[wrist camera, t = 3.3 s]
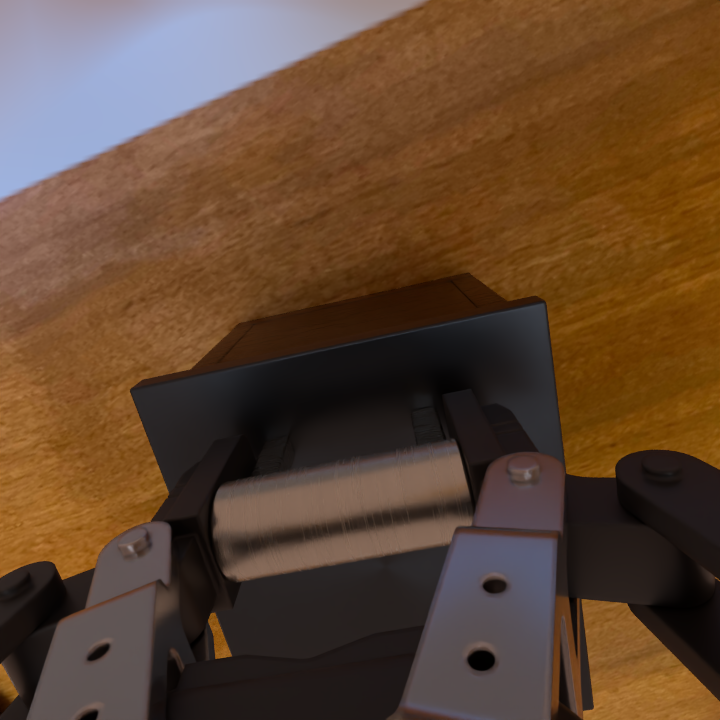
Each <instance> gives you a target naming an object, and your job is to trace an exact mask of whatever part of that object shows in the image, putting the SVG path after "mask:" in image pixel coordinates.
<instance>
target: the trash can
mask: <svg viewBox="0 0 720 720" xmlns="http://www.w3.org/2000/svg"><path fill="white" fill-rule="evenodd" d="M503 302H508V301H506V300H505V299H504V298H502V297H501V296H500V295H498V294H497V293H496V292H494V291H493V290H491V289H490V288H489V287H487V286H486V285H485V284H483V283H482V282H481V281H479V280H478V279H476V278H475V277H474V276H473V275H471V274H470V273H465V274H461V275H456V276H452V277H447V278H443V279H438V280H434V281H429V282H424V283H420V284H415V285H411V286H406V287H402V288H397V289H393V290H388V291H384V292H379V293H375V294H370V295H366V296H361V297H356V298H352V299H347V300H343V301H338V302H334V303H329V304H325V305H320V306H316V307H311V308H307V309H302V310H297V311H293V312H288V313H284V314H279V315H275V316H270V317H266V318H261V319H257V320H252V321H248V322H243V323H239V324H238V325H237V326H236V327H235V328H234V329H233V330H232V331H231V332H230V333H229V334H228V335H227V336H225V337H224V338H223V339H222V340H221V341H220V342H219V343H218V344H217V345H216V346H215V347H214V348H213V349H212V350H211V351H210V352H208V353H207V354H206V355H205V356H204V357H203V358H202V359H201V360H200V361H199V362H198V363H197V364H196V365H195V366H194V367H193V368H192V369H195V368H200V367H205V366H209V365H214V364H219V363H223V362H228V361H233V360H237V359H242V358H247V357H251V356H256V355H261V354H265V353H270V352H275V351H279V350H284V349H289V348H293V347H298V346H303V345H307V344H312V343H317V342H321V341H326V340H331V339H335V338H340V337H345V336H349V335H354V334H359V333H363V332H368V331H373V330H377V329H382V328H387V327H391V326H396V325H401V324H405V323H410V322H415V321H419V320H424V319H429V318H433V317H438V316H443V315H447V314H452V313H457V312H461V311H466V310H471V309H475V308H480V307H485V306H489V305H494V304H499V303H503ZM190 370H191V369H190Z"/></svg>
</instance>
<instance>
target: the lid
mask: <svg viewBox="0 0 720 720" xmlns="http://www.w3.org/2000/svg"><path fill="white" fill-rule="evenodd" d="M467 389H471V390H472V392H473V393H474V395H475V397H476V399H477V401H478V403H479V405H480V406H485V405H490V404H495V403H497V404H499V405H501V406H504V407H506V408H508V409H510V410H511V411H512V412H513V414H514V415H515V417H516V418H517V420H518V422H519V423H520V424H521V426H522V427H523V430H525V432H526V433H527V435H528V436H529V438H530V439H531V441H532V442H533V444H534V445H535V447H536V448H537V449H538V451H539V452H540V453H543V454H547V455H550V456H552V457H554V458H556V459H557V460H559V461H560V462H561V463H562V464H563V466H564V470H565V474H566V467H565V458H564V450H563V441H562V433H561V424H560V416H559V407H558V399H557V390H556V382H555V373H554V365H553V356H552V348H551V339H550V331H549V322H548V314H547V305H546V302H545V301H544V300H543V299H541V298H539V297H537V296H531V297H527V298H522V299H517V300H513V301H508V302H503V303H499V304H494V305H489V306H485V307H480V308H475V309H471V310H466V311H461V312H457V313H452V314H447V315H443V316H438V317H433V318H429V319H424V320H419V321H415V322H410V323H405V324H401V325H396V326H391V327H387V328H382V329H377V330H373V331H368V332H363V333H359V334H354V335H349V336H345V337H340V338H335V339H331V340H326V341H321V342H317V343H312V344H307V345H303V346H298V347H293V348H289V349H284V350H279V351H275V352H270V353H265V354H261V355H256V356H251V357H247V358H242V359H237V360H233V361H228V362H223V363H219V364H214V365H209V366H205V367H200V368H195V369H191V370H186V371H181V372H177V373H172V374H167V375H163V376H158V377H153V378H149V379H144V380H142V381H140V382H139V383H138V384H136V385H135V386H134V387H133V388H131V389H130V393H131V395H132V398H133V400H134V403H135V406H136V408H137V411H138V413H139V416H140V419H141V421H142V424H143V426H144V429H145V432H146V434H147V437H148V439H149V442H150V445H151V447H152V450H153V452H154V455H155V457H156V460H157V463H158V465H159V468H160V470H161V473H162V476H163V478H164V481H165V483H166V486H167V489H168V491H169V494H170V492H171V491H172V490H173V488H175V485H176V484H177V482H178V481H179V479H180V478H181V476H182V475H183V474H184V473H185V472H186V471H187V470H189V469H190V468H191V467H192V466H194V465H195V464H196V463H197V462H200V461H202V459H203V457H204V456H205V454H206V453H207V451H208V450H209V448H210V447H211V445H212V443H213V442H214V441H215V440H217V439H222V438H227V437H232V436H237V435H242V434H244V435H245V436H246V437H247V438H248V440H249V442H250V445H251V448H252V451H253V454H254V457H255V460H256V463H255V466H254V468H253V470H252V472H251V475H250V477H249V478H244V479H238V480H233V481H228V482H224V483H223V484H221V485H220V486H219V487H218V488H217V490H216V492H215V494H214V497H213V500H212V505H211V512H210V534H211V543H212V548H213V553H214V557H215V560H216V563H217V565H218V568H219V570H220V572H221V573H222V575H223V576H224V577H225V578H226V579H227V580H228V581H231V582H242V583H241V586H240V589H239V592H238V595H237V598H236V601H235V604H234V607H233V609H231V610H225V611H220V612H215V613H216V616H217V618H218V621H219V624H220V626H221V629H222V631H223V634H224V637H225V639H226V642H227V644H228V647H229V649H230V652H231V655H232V657H233V656H239V655H245V654H247V655H259V656H272V657H284V658H296V659H307V658H311V657H314V656H317V655H320V654H322V653H325V652H327V651H330V650H333V649H335V648H338V647H340V646H343V645H345V644H348V643H351V642H353V641H356V640H358V639H361V638H363V637H366V636H369V635H371V634H374V633H380V632H386V631H392V630H398V629H404V628H410V627H416V626H422V625H425V623H426V619H427V616H428V613H429V610H430V607H431V603H432V600H433V597H434V594H435V591H436V587H437V584H438V581H439V578H440V575H441V572H442V568H443V565H444V562H445V559H446V556H447V552H448V549H449V546H450V543H451V540H452V536H453V533H454V531H455V529H456V527H457V526H459V525H463V526H471V524H472V521H473V517H474V513H475V510H476V506H475V501H474V496H473V492H472V487H471V483H470V479H469V475H468V471H467V467H466V463H465V460H464V456H463V453H462V450H461V447H460V444H459V442H458V440H457V439H455V438H450V437H449V432H448V427H447V422H446V416H445V411H444V406H443V400H442V394H447V393H452V392H457V391H462V390H467ZM579 606H580V674H581V695H582V708H583V711H585V710H592V709H593V708H594V705H593V696H592V688H591V679H590V671H589V662H588V654H587V645H586V637H585V628H584V620H583V611H582V603H581V599H579Z"/></svg>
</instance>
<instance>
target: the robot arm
mask: <svg viewBox="0 0 720 720" xmlns="http://www.w3.org/2000/svg"><path fill="white" fill-rule="evenodd" d="M442 400H443V406H444V411H445V416H446V422H447V427H448V432H449V437H450V438H455V439H457V440H458V442H459V444H460V447H461V450H462V453H463V456H464V460H465V463H466V467H467V471H468V475H469V479H470V483H471V487H472V492H473V496H474V501H475V506H476V510H475V513H474V517H473V521H472V524H471V526H463V525H459V526H457V527H456V529H455V531H454V533H453V536H452V540H451V543H450V546H449V549H448V552H447V556H446V559H445V562H444V565H443V568H442V572H441V575H440V578H439V581H438V584H437V587H436V591H435V594H434V597H433V600H432V603H431V607H430V610H429V613H428V616H427V619H426V623H425V625H422V626H416V627H410V628H404V629H398V630H392V631H386V632H380V633H374V634H371V635H369V636H366V637H363V638H361V639H358V640H356V641H353V642H351V643H348V644H345V645H343V646H340V647H338V648H335V649H333V650H330V651H327V652H325V653H322V654H320V655H317V656H314V657H311V658H307V659H296V658H284V657H272V656H259V655H247V654H245V655H239V656H233V657H227V658H220V659H215V651H214V639H213V633H212V631H211V628H210V626H209V623H208V619H209V616H210V614H211V613H214V612H220V611H225V610H231V609H233V607H234V604H235V601H236V598H237V595H238V592H239V589H240V586H241V583H242V582H231V581H228V580H227V579H226V578H225V577H224V576H223V575H222V573H221V572H220V570H219V568H218V565H217V563H216V560H215V557H214V553H213V548H212V543H211V534H210V512H211V505H212V500H213V497H214V494H215V492H216V490H217V488H218V487H219V486H220V485H221V484H223V483H224V482H228V481H233V480H238V479H244V478H249V477H250V475H251V472H252V470H253V468H254V466H255V463H256V460H255V457H254V454H253V451H252V448H251V445H250V442H249V440H248V438H247V437H246V436H245V435H244V434H242V435H237V436H232V437H227V438H222V439H217V440H215V441H214V442H213V443H212V445H211V447H210V448H209V450H208V451H207V453H206V454H205V456H204V457H203V459H202V461H200V462H197V463H196V464H195V465H194V466H192V467H191V468H190V469H189V470H187V471H186V472H185V473H184V474H183V475H182V476H181V478H180V479H179V481H178V482H177V484H176V485H175V488H173V490H172V491H171V492H170V494H169V495H168V498H167V499H166V500H165V501H164V503H163V504H162V506H161V507H160V509H159V510H158V512H157V513H156V515H155V516H154V517H153V519H152V520H151V522H147V523H143V524H140V525H138V526H135V527H133V528H131V529H128V530H126V531H125V532H123V533H121V534H120V535H118V536H117V537H115V538H114V539H113V540H111V541H110V542H109V543H108V544H107V545H106V546H105V547H104V548H103V549H102V551H101V552H100V554H99V556H98V560H97V564H96V567H95V568H93V569H91V570H88V571H85V572H83V573H80V574H77V575H75V576H72V577H69V578H67V579H64V580H62V579H61V577H60V575H59V573H58V571H57V569H56V566H55V564H53V563H52V562H48V561H42V562H36V563H32V564H29V565H26V566H23V567H21V568H18V569H16V570H14V571H12V572H10V573H8V574H7V575H5V576H3V577H2V578H0V664H1V663H2V665H3V667H4V669H5V670H6V672H7V674H8V676H9V677H10V679H11V681H12V683H13V685H14V686H15V688H16V690H17V692H18V693H19V695H18V696H17V697H16V699H15V700H14V701H13V702H12V703H11V704H10V705H9V706H8V707H7V708H6V710H5V711H4V712H3V713H2V714H1V715H0V720H583V708H582V695H581V674H580V606H579V599H589V600H600V601H610V602H621V603H627V604H628V606H629V608H630V610H631V611H632V612H633V613H634V615H635V616H636V617H637V618H638V619H639V620H640V621H641V622H642V623H643V624H644V625H645V626H646V627H647V628H648V629H649V630H650V631H651V632H652V633H653V634H654V635H655V636H656V637H657V638H658V639H659V640H660V641H661V642H662V643H663V644H664V645H665V646H666V647H667V648H668V649H669V650H670V651H671V652H672V653H673V654H674V655H675V656H676V657H677V658H678V659H679V660H680V661H681V662H682V663H683V664H684V665H685V666H686V667H687V668H688V669H689V670H690V671H691V672H692V673H693V674H694V675H695V676H696V677H697V679H698V680H699V681H700V682H701V683H702V684H703V685H704V686H705V687H706V688H707V689H708V690H709V691H710V692H711V693H712V694H713V695H714V696H715V697H716V698H717V699H718V700H719V701H720V581H718V580H717V579H716V578H715V577H717V578H718V579H719V580H720V470H719V469H717V468H715V467H713V466H711V465H709V464H707V463H705V462H703V461H701V460H699V459H697V458H695V457H693V456H690V455H687V454H684V453H680V452H676V451H669V450H645V451H639V452H635V453H632V454H629V455H627V456H625V457H623V458H622V459H621V460H619V461H618V463H617V464H616V467H615V471H616V478H592V477H579V476H573V475H569V474H565V470H564V466H563V464H562V463H561V462H560V461H559V460H557V459H556V458H554V457H552V456H550V455H547V454H543V453H540V452H539V451H538V449H537V448H536V447H535V445H534V444H533V442H532V441H531V439H530V438H529V436H528V435H527V433H526V432H525V430H523V427H522V426H521V424H520V423H519V422H518V420H517V418H516V417H515V415H514V414H513V412H512V411H511V410H510V409H508V408H506V407H504V406H501V405H499V404H497V403H495V404H490V405H485V406H480V405H479V403H478V401H477V399H476V397H475V395H474V393H473V392H472V390H471V389H467V390H462V391H457V392H452V393H447V394H442Z"/></svg>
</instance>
